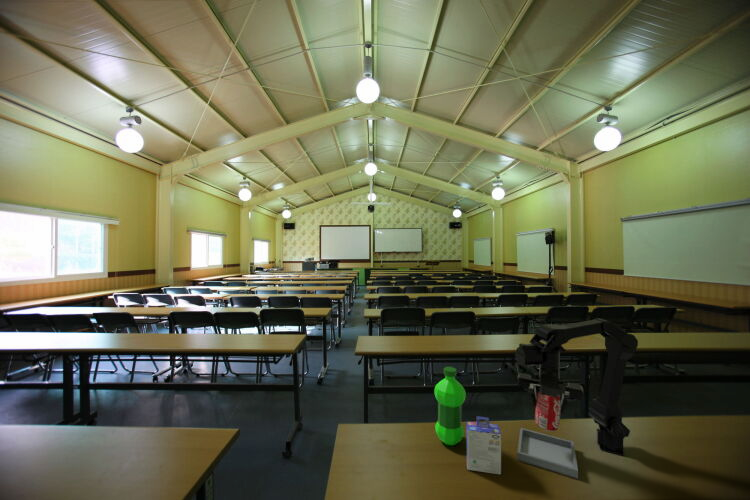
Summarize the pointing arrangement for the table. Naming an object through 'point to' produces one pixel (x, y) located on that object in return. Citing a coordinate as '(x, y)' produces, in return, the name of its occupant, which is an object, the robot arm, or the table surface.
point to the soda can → (548, 412)
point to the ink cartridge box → (483, 446)
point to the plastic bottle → (449, 408)
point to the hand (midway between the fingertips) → (548, 411)
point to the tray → (547, 452)
